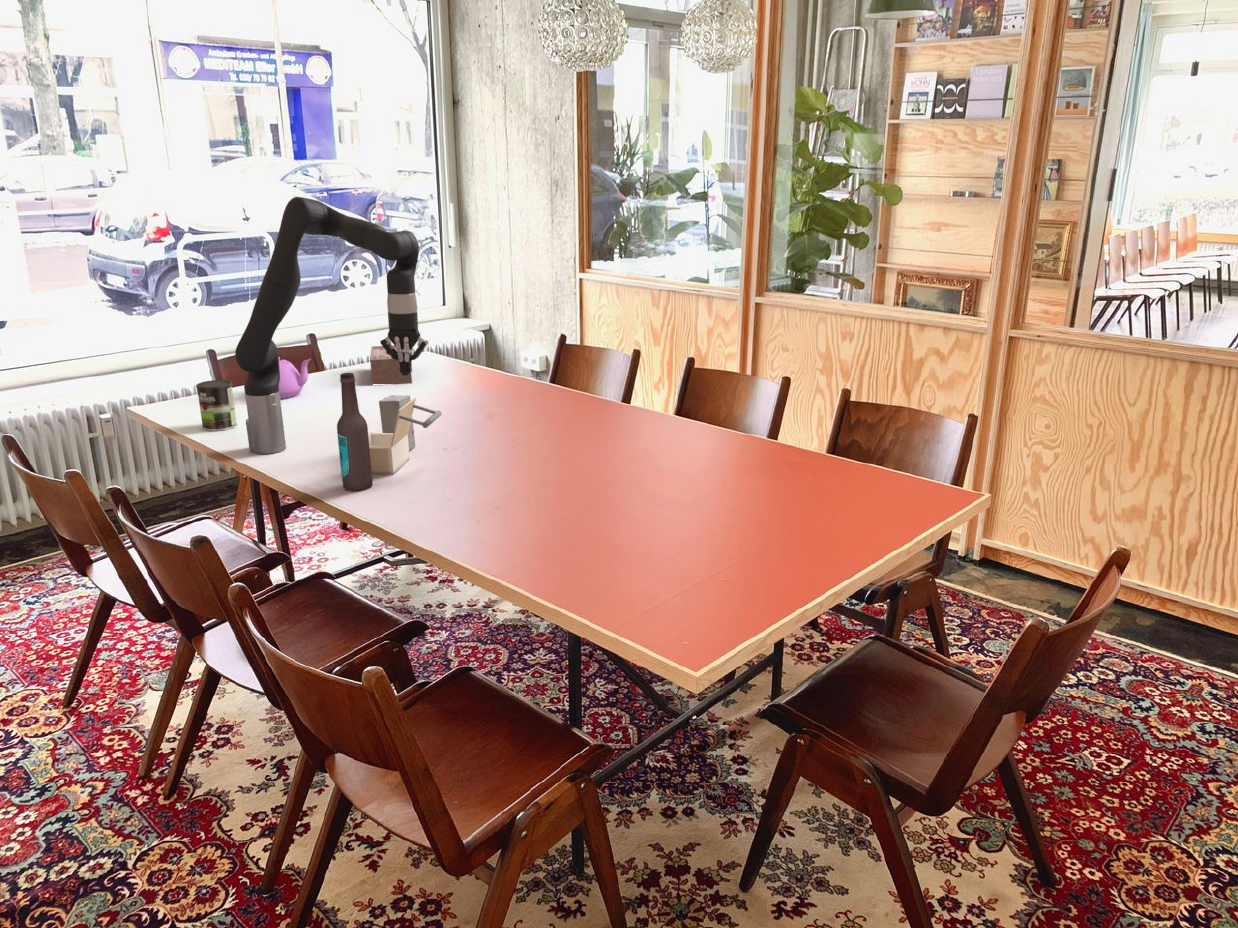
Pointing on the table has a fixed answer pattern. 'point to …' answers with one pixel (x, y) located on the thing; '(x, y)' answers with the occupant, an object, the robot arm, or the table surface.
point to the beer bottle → (353, 440)
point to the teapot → (291, 378)
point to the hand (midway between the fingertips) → (406, 374)
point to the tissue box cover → (386, 368)
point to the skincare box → (394, 415)
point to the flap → (410, 420)
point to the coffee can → (216, 405)
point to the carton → (387, 453)
